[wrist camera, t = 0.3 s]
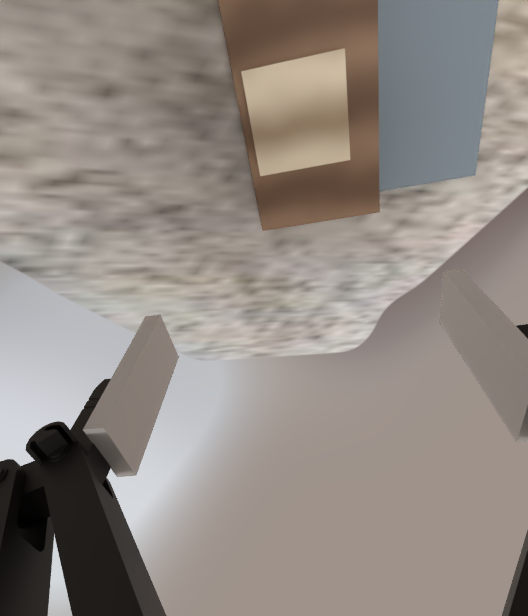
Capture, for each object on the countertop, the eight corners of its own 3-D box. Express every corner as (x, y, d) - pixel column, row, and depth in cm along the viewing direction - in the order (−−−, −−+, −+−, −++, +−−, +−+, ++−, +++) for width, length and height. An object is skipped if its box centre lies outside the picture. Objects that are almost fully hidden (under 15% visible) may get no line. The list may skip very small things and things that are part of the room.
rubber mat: (372, -31, 29) (374, -33, 29) (503, -64, 28) (507, -66, 27) (375, 190, 39) (376, 191, 38) (473, 173, 37) (475, 175, 37)
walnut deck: (221, -9, 30) (214, -20, 27) (366, -46, 29) (377, -62, 25) (264, 218, 41) (262, 230, 37) (371, 200, 39) (379, 211, 36)
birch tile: (243, 71, 30) (241, 71, 28) (340, 50, 29) (344, 48, 27) (261, 170, 34) (260, 176, 32) (345, 154, 33) (350, 159, 31)
